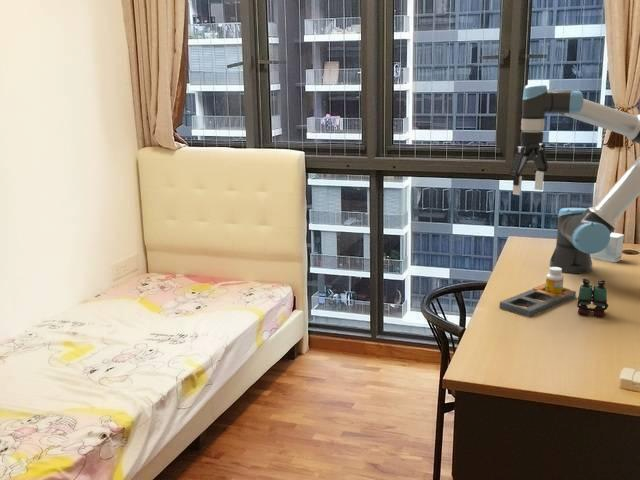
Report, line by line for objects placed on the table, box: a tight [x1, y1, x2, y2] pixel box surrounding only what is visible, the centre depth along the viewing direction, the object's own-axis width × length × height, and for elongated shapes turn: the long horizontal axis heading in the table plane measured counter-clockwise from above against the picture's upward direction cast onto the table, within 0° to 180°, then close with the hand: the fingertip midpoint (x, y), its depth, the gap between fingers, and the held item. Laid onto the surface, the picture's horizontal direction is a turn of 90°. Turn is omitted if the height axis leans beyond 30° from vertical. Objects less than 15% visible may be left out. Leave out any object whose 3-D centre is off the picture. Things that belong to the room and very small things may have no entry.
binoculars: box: [576, 278, 609, 319], centre depth 207 cm, size 9×11×10 cm
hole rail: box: [499, 282, 577, 318], centre depth 219 cm, size 27×11×2 cm, turn 131°
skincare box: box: [590, 231, 625, 264], centre depth 265 cm, size 10×6×10 cm, turn 43°
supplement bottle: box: [545, 266, 564, 294], centre depth 223 cm, size 5×5×10 cm
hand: (527, 192), depth 235 cm, fingers open, 13 cm apart
